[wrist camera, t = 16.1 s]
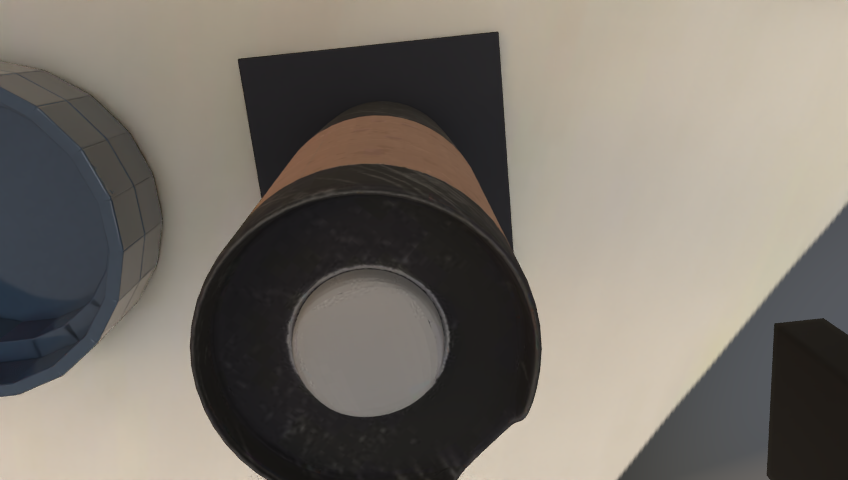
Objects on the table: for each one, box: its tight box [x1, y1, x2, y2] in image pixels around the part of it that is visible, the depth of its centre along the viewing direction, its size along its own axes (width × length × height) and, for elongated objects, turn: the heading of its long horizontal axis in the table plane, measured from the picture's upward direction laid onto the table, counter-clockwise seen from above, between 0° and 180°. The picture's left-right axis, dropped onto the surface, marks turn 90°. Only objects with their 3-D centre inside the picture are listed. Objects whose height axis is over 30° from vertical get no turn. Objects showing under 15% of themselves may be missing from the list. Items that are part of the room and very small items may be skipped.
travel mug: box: [190, 101, 542, 480], centre depth 24 cm, size 8×8×20 cm
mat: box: [238, 32, 513, 251], centre depth 34 cm, size 12×12×1 cm
